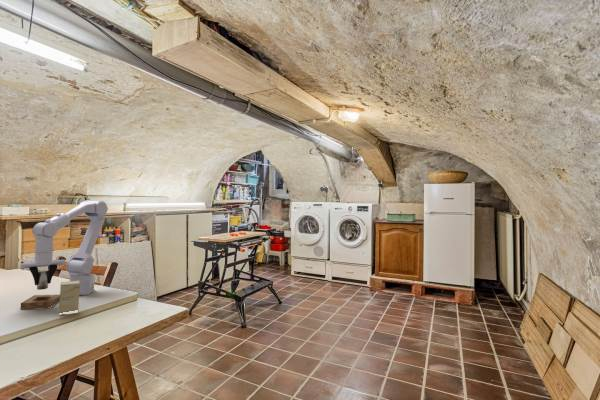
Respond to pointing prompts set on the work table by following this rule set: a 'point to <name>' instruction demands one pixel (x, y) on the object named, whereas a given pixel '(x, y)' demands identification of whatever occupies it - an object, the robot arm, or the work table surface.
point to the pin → (42, 280)
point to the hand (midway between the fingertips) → (42, 283)
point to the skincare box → (69, 296)
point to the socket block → (40, 301)
